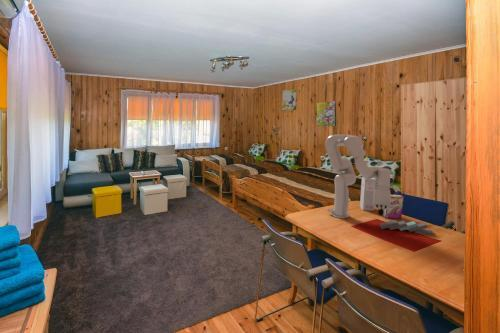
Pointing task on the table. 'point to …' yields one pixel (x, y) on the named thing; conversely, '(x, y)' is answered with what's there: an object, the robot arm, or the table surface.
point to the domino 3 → (409, 225)
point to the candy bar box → (394, 207)
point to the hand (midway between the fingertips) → (380, 215)
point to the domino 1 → (388, 224)
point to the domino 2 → (400, 225)
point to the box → (367, 193)
